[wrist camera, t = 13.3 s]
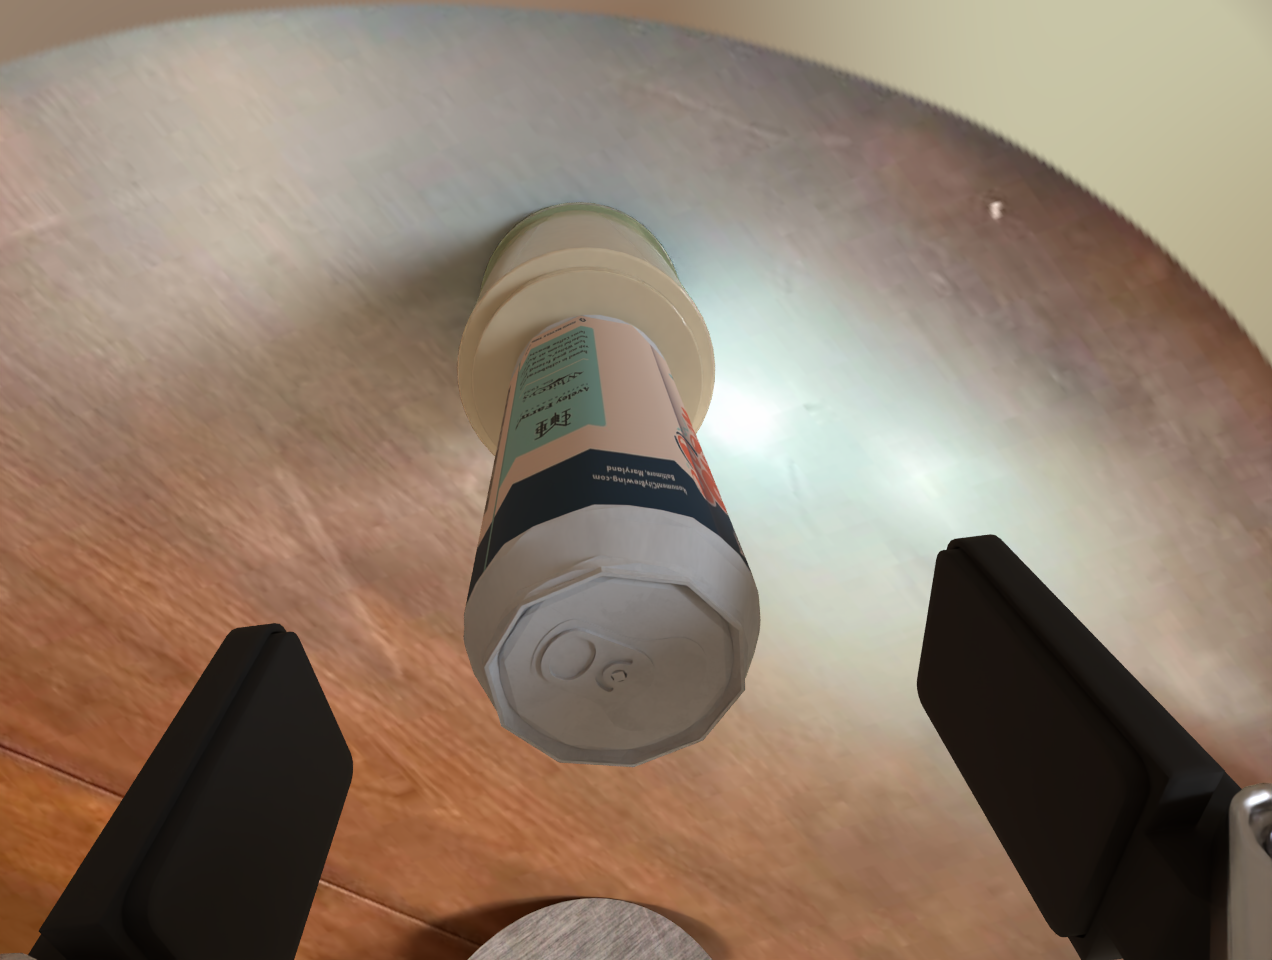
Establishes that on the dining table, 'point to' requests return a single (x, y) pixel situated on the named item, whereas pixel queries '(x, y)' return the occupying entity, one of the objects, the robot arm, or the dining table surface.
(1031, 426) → the dining table surface
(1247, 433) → the dining table surface
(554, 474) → the beer can
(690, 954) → the disc
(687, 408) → the cup
